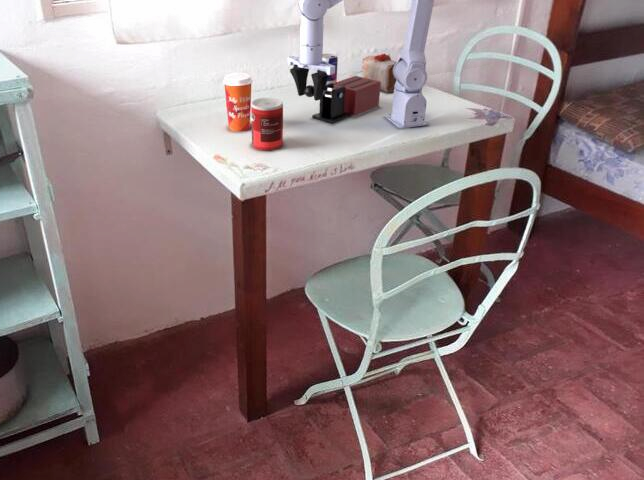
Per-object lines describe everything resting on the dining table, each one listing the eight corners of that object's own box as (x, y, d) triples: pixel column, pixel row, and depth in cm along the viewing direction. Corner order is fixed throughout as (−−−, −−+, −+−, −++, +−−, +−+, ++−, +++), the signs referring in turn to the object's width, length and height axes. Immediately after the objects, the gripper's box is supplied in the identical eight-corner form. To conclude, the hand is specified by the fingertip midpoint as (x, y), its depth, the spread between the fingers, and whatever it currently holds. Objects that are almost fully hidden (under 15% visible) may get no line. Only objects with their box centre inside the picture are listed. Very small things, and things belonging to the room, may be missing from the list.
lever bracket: (331, 124, 178) (333, 92, 174) (312, 118, 183) (313, 87, 178) (350, 117, 183) (352, 85, 178) (331, 111, 187) (332, 80, 182)
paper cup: (229, 135, 175) (227, 81, 167) (221, 125, 181) (219, 73, 173) (257, 131, 176) (256, 78, 169) (249, 121, 182) (248, 70, 175)
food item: (356, 83, 208) (358, 51, 203) (376, 79, 211) (379, 47, 206) (385, 94, 198) (388, 61, 193) (405, 89, 201) (409, 56, 196)
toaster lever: (309, 98, 171) (311, 86, 170) (300, 95, 173) (303, 83, 172) (338, 99, 180) (341, 88, 178) (330, 97, 181) (332, 86, 180)
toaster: (354, 118, 182) (355, 90, 178) (328, 110, 188) (329, 83, 184) (379, 108, 188) (381, 81, 184) (353, 101, 194) (355, 74, 190)
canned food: (264, 137, 172) (263, 95, 166) (289, 143, 168) (289, 101, 162) (245, 146, 167) (244, 103, 161) (271, 153, 163) (270, 109, 157)
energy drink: (336, 99, 196) (338, 58, 190) (318, 99, 196) (320, 58, 190) (334, 93, 201) (336, 53, 194) (317, 94, 201) (318, 53, 194)
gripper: (279, 42, 168) (279, 95, 176) (322, 51, 159) (320, 107, 167) (298, 37, 172) (297, 88, 180) (341, 45, 163) (338, 100, 171)
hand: (309, 97), depth 173 cm, fingers open, 5 cm apart
